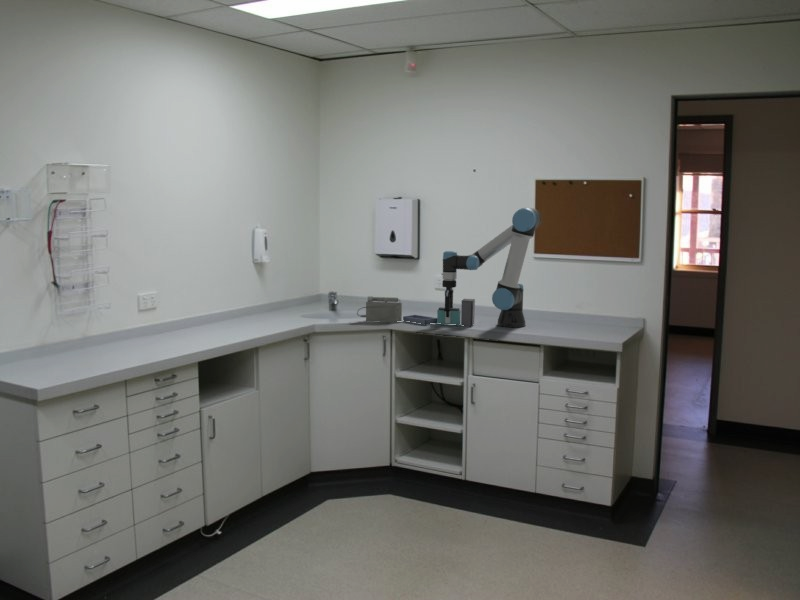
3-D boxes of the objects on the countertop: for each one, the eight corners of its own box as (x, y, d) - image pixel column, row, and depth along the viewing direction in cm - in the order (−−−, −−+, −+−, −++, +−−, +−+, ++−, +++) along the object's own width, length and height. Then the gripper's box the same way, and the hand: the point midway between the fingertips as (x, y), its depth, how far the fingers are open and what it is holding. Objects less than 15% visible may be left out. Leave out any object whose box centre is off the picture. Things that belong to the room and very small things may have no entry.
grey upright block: (474, 324, 409) (474, 299, 407) (472, 326, 401) (472, 300, 399) (463, 324, 410) (463, 298, 408) (461, 326, 403) (461, 300, 401)
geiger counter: (402, 296, 416) (357, 295, 418) (401, 297, 409) (356, 296, 412) (402, 321, 417) (357, 320, 420) (400, 323, 411) (355, 321, 414)
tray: (437, 323, 411) (437, 318, 411) (425, 325, 404) (425, 319, 404) (414, 319, 423) (414, 314, 422) (403, 321, 416) (403, 316, 415)
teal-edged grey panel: (460, 324, 409) (460, 308, 408) (459, 325, 404) (459, 309, 403) (438, 323, 412) (438, 307, 410) (437, 324, 407) (437, 308, 406)
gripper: (445, 278, 414) (444, 319, 417) (439, 281, 397) (438, 324, 400) (458, 278, 413) (457, 320, 416) (453, 281, 396) (452, 325, 399)
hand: (448, 322), depth 408 cm, fingers closed on teal-edged grey panel, 4 cm apart
